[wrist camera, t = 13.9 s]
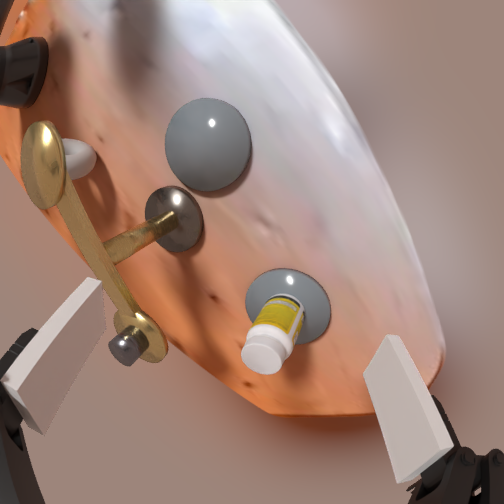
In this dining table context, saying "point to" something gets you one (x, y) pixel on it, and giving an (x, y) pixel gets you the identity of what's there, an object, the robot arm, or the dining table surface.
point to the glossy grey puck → (207, 144)
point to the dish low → (298, 287)
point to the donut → (78, 158)
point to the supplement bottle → (273, 334)
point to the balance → (117, 248)
